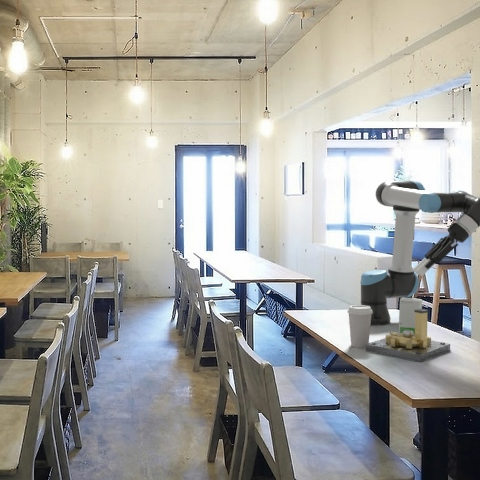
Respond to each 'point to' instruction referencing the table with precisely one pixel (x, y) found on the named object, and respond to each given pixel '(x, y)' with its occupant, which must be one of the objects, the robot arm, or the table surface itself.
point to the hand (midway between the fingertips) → (417, 272)
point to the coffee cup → (359, 325)
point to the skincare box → (408, 313)
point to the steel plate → (406, 353)
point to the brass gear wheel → (419, 336)
